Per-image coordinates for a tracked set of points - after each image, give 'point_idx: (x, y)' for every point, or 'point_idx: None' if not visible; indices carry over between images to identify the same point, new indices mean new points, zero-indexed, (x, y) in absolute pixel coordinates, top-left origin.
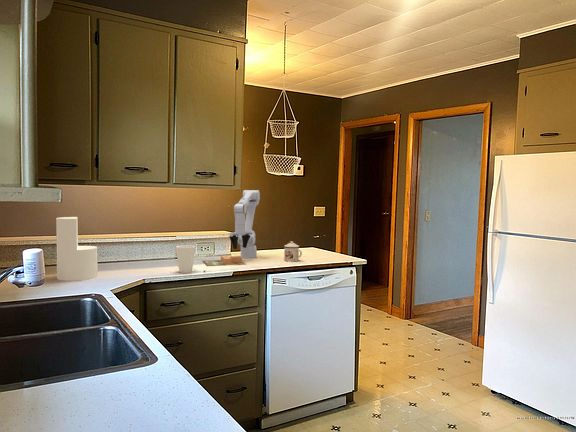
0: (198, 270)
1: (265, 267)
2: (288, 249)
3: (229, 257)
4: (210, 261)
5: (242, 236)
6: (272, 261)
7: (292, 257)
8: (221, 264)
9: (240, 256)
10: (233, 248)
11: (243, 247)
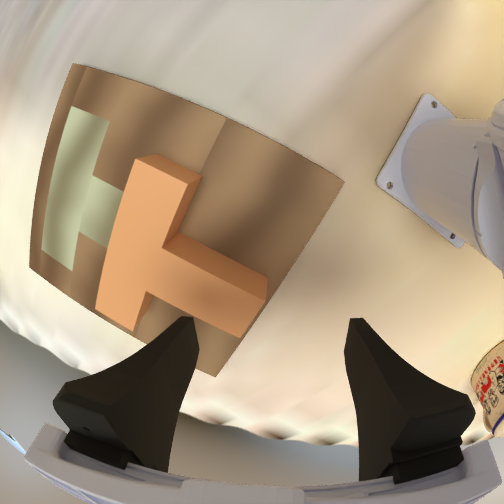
0: (10, 272)
1: (275, 419)
2: (493, 417)
3: (146, 289)
4: (90, 129)
5: (397, 428)
6: (455, 336)
7: (478, 398)
8: (94, 281)
9: (254, 312)
10: (178, 319)
11: (349, 323)
